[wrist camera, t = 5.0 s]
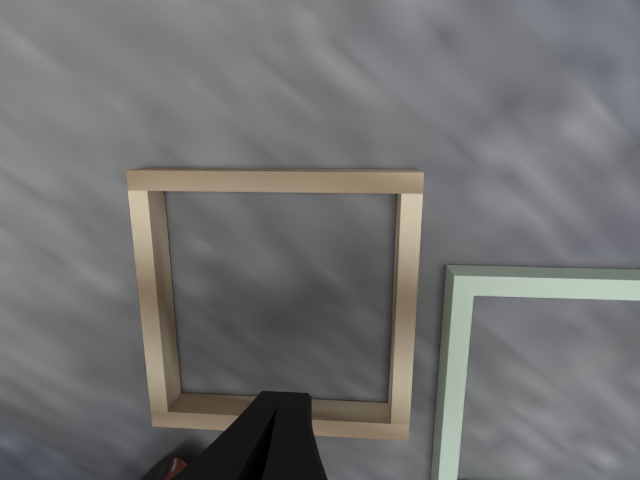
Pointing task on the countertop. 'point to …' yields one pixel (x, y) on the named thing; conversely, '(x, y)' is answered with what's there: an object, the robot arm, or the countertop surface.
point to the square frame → (457, 326)
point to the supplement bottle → (166, 469)
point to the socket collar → (159, 304)
